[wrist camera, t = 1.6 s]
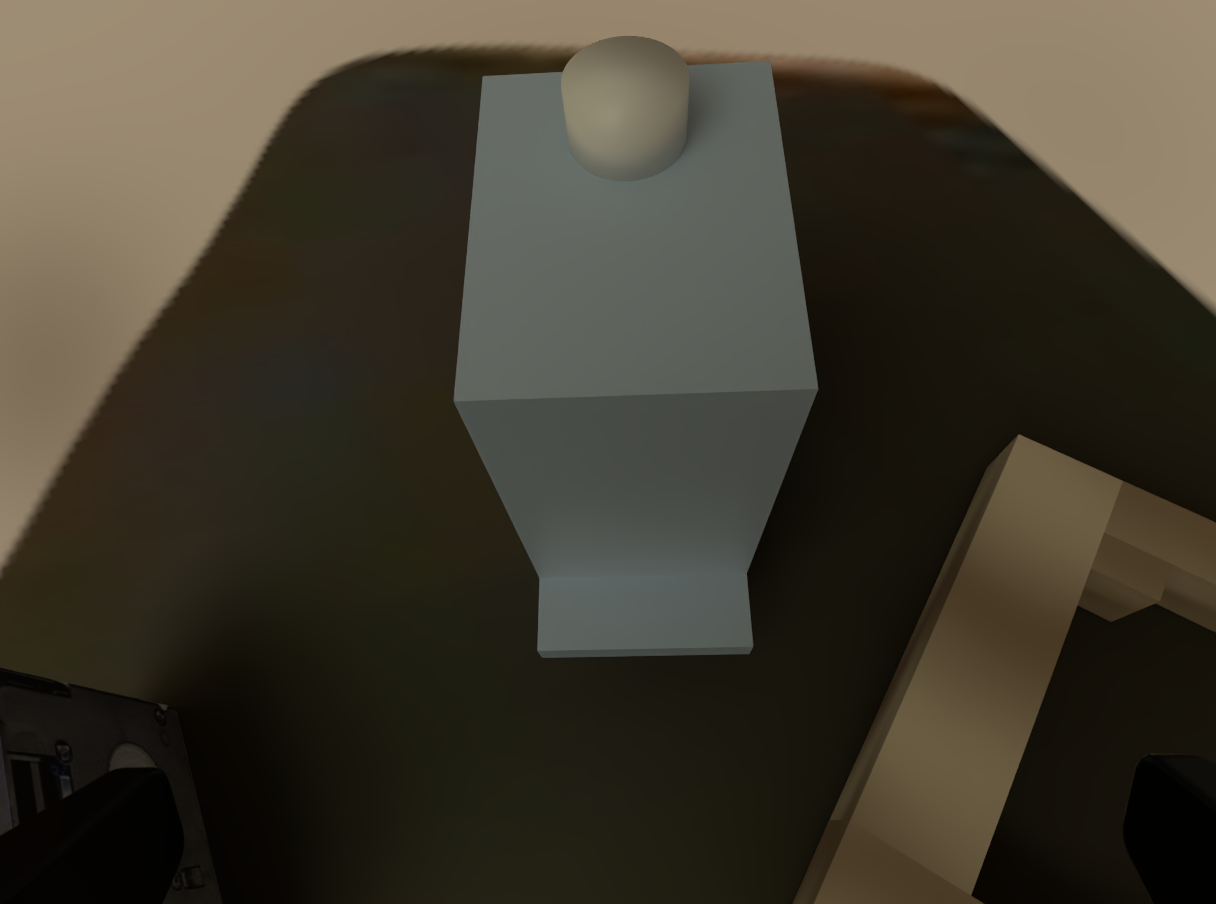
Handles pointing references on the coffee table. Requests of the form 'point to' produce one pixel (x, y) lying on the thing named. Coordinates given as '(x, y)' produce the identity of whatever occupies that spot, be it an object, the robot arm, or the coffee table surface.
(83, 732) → the mini dv tape
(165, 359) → the coffee table surface
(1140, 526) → the plate
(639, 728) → the coffee table surface
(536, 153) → the servo
